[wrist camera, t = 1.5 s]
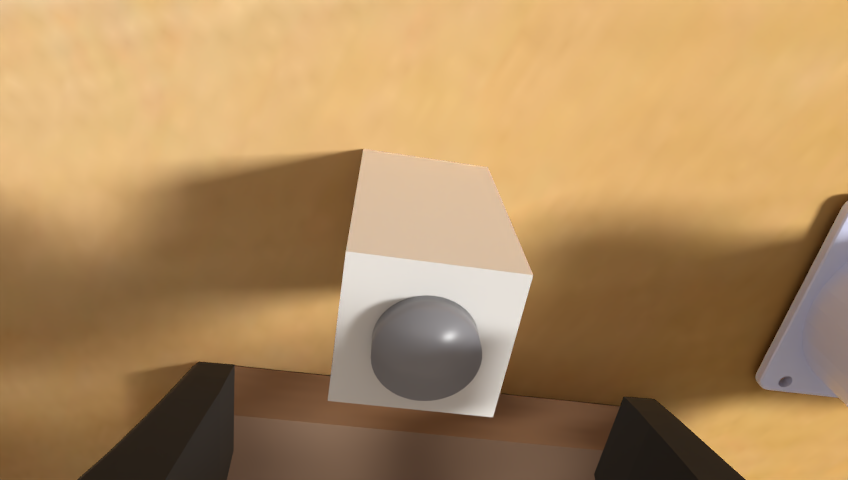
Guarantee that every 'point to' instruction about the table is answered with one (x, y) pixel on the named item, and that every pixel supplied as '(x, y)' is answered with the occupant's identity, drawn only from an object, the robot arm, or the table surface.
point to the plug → (427, 288)
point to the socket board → (406, 436)
